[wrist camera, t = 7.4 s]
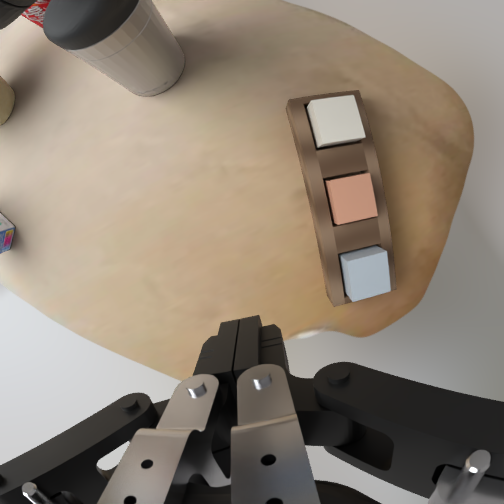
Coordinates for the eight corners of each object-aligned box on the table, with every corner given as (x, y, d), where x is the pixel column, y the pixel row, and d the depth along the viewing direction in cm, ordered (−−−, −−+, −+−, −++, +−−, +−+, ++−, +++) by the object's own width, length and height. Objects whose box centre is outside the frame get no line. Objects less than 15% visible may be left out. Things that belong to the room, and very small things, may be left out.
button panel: (285, 108, 34) (288, 99, 30) (349, 98, 33) (358, 90, 29) (327, 295, 39) (333, 306, 35) (384, 279, 39) (396, 289, 35)
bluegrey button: (339, 254, 35) (347, 261, 32) (375, 245, 35) (386, 251, 31) (344, 291, 36) (352, 301, 33) (380, 282, 36) (390, 291, 32)
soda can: (47, 40, 31) (7, 19, 19) (52, 13, 29) (17, -10, 17) (78, 24, 30) (40, -4, 19) (82, -3, 29) (50, -32, 17)
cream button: (306, 108, 31) (311, 100, 28) (345, 102, 31) (353, 94, 27) (316, 148, 32) (323, 144, 29) (355, 141, 32) (365, 137, 28)
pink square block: (322, 181, 34) (329, 180, 31) (359, 173, 34) (369, 172, 31) (330, 221, 35) (338, 224, 32) (367, 212, 35) (377, 215, 32)
